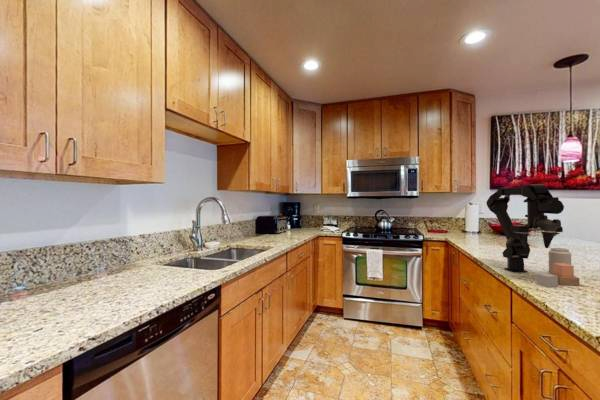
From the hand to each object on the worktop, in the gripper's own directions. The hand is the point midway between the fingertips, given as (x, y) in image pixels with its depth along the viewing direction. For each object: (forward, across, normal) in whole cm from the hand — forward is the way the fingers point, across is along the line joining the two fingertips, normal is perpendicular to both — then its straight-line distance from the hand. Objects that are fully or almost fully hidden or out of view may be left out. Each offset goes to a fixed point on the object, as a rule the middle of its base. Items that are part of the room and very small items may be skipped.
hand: (536, 248), depth 122 cm
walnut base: (+13, +4, -8) cm, 16 cm away
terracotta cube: (+10, +4, -8) cm, 13 cm away
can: (+13, +14, +4) cm, 20 cm away
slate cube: (+13, -5, -11) cm, 18 cm away
